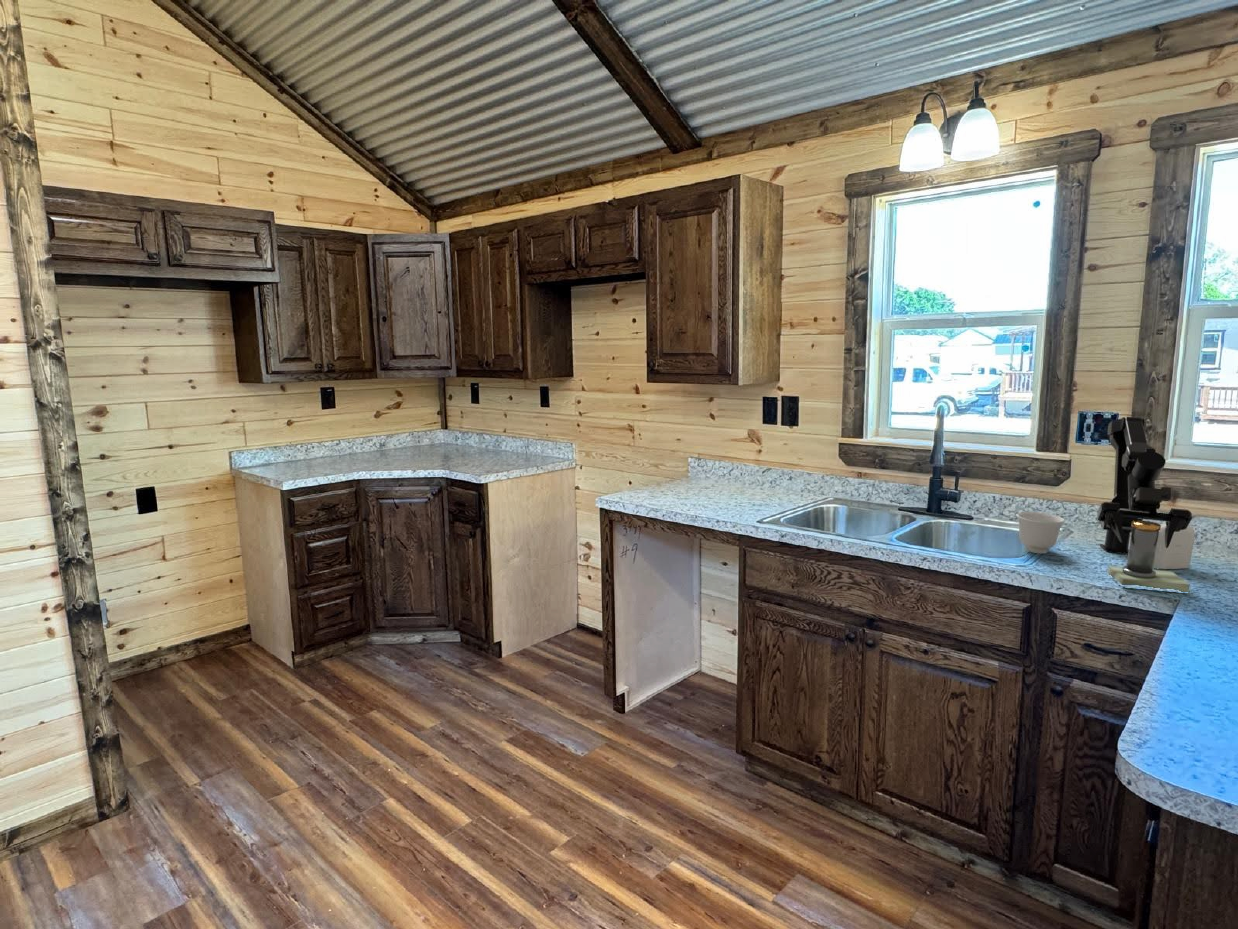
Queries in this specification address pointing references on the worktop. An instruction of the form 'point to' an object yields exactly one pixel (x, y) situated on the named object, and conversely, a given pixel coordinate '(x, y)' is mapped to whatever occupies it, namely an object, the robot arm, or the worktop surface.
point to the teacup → (1038, 530)
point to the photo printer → (1174, 549)
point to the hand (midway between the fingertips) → (1144, 544)
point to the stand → (1160, 581)
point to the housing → (1142, 549)
